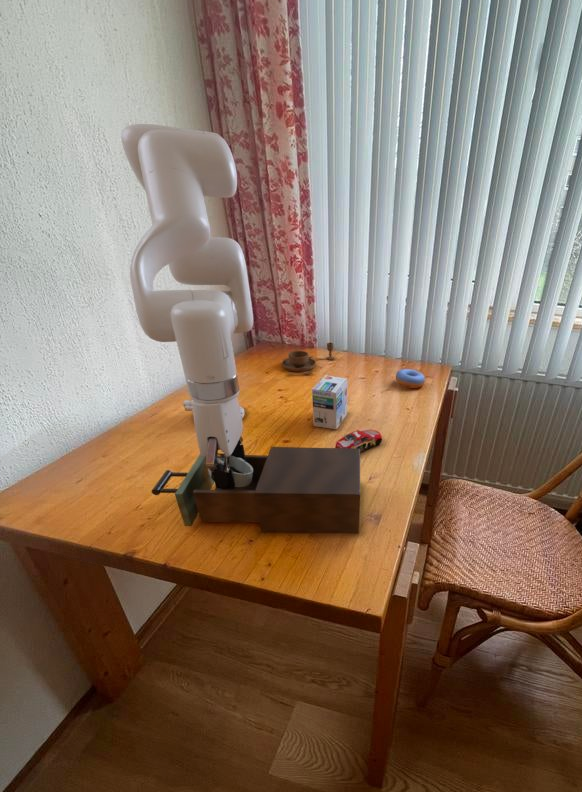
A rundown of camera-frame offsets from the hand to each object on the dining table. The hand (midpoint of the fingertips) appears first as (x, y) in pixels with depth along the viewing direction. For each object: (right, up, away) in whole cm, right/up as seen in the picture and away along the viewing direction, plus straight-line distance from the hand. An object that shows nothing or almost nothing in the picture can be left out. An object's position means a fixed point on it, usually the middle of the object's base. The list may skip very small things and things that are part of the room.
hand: (231, 473), depth 71 cm
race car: (+22, +6, +25) cm, 34 cm away
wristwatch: (0, -1, +1) cm, 1 cm away
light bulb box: (+14, +14, +36) cm, 41 cm away
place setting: (+1, +37, +69) cm, 78 cm away
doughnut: (+37, +29, +60) cm, 76 cm away
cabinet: (+14, -7, +5) cm, 17 cm away
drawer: (-2, -6, +3) cm, 7 cm away
